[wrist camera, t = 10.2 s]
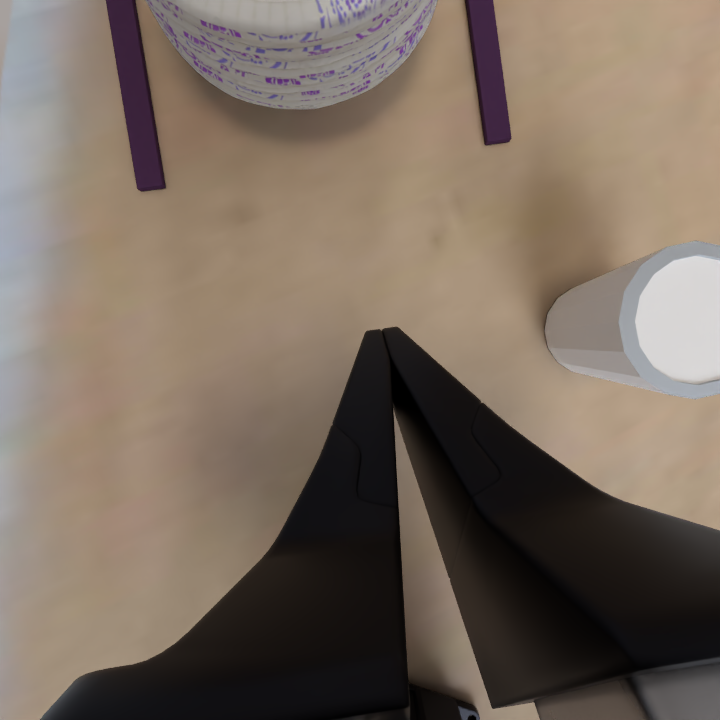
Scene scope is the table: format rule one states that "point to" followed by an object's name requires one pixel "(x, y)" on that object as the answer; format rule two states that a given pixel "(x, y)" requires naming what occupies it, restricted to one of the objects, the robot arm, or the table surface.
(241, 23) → the paper bowls
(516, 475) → the robot arm
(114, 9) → the frame
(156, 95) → the table surface
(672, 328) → the shot glass
